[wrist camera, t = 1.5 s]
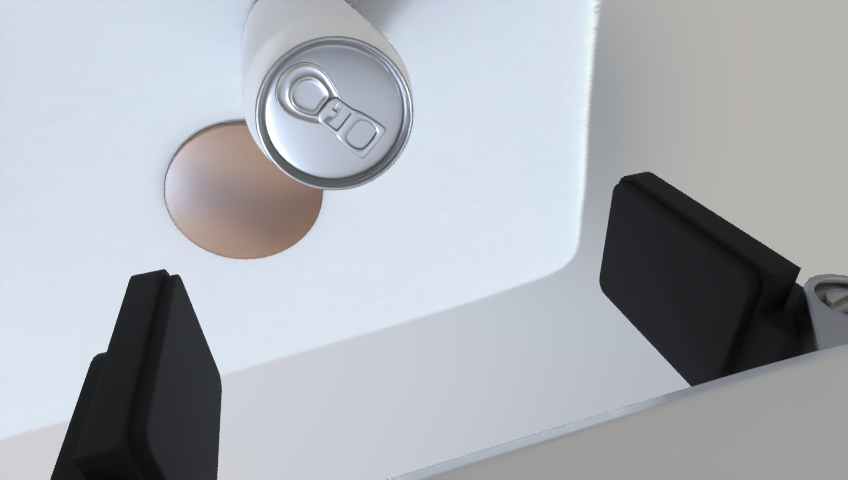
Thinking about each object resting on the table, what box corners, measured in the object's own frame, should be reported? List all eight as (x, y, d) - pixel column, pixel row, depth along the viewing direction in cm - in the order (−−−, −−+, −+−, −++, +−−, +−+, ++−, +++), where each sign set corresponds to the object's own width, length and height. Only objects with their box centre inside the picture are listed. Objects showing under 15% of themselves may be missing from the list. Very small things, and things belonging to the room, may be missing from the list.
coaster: (141, 136, 28) (139, 139, 28) (307, 110, 30) (308, 113, 30) (192, 269, 33) (191, 272, 33) (332, 240, 35) (332, 243, 35)
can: (290, -50, 26) (319, -24, 16) (387, 38, 29) (459, 103, 19) (216, 55, 27) (202, 137, 17) (317, 127, 31) (351, 228, 21)
